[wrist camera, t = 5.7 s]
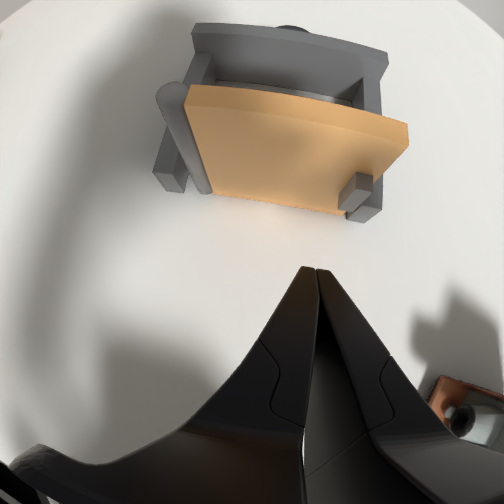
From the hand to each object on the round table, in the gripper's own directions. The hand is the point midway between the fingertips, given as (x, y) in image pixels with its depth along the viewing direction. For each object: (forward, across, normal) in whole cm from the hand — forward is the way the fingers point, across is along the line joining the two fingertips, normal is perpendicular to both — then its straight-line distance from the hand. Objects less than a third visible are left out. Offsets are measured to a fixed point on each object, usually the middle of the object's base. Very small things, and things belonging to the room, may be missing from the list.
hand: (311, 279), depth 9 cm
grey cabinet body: (+14, +2, -1) cm, 15 cm away
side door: (+10, +2, +3) cm, 11 cm away
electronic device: (+2, -16, +12) cm, 20 cm away
